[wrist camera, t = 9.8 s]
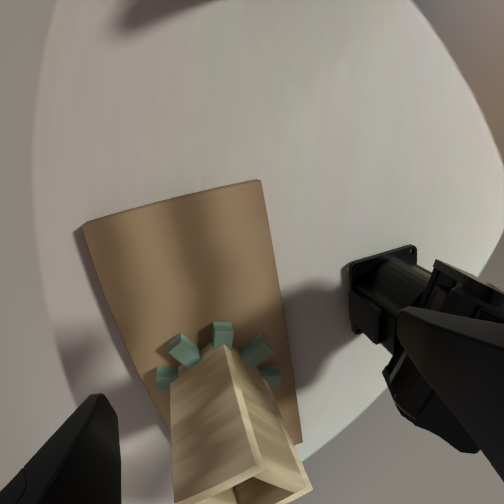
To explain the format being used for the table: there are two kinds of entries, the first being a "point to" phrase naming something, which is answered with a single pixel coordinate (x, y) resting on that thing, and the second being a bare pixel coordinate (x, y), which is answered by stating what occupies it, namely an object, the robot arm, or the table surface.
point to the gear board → (194, 282)
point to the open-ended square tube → (228, 424)
